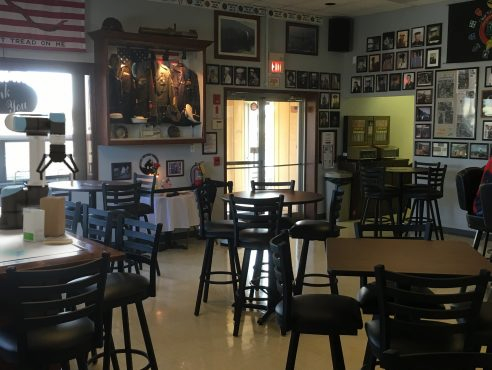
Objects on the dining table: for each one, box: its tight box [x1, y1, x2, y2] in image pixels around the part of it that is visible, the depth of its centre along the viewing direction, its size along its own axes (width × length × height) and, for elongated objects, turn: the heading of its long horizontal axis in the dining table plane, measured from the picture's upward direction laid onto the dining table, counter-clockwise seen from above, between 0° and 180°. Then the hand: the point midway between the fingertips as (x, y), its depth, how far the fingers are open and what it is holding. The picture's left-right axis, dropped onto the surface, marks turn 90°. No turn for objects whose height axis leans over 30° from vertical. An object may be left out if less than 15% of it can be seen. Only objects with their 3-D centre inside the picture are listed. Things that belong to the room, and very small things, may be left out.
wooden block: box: [39, 195, 66, 237], centre depth 293 cm, size 10×10×20 cm
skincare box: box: [22, 208, 45, 243], centre depth 277 cm, size 8×7×16 cm
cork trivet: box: [42, 237, 74, 246], centre depth 275 cm, size 14×14×1 cm
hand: (57, 186), depth 277 cm, fingers open, 13 cm apart
